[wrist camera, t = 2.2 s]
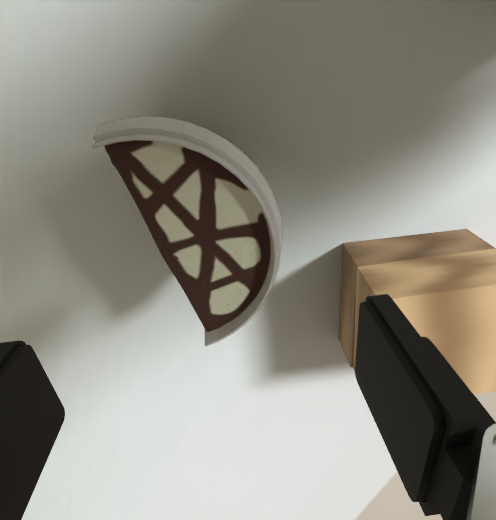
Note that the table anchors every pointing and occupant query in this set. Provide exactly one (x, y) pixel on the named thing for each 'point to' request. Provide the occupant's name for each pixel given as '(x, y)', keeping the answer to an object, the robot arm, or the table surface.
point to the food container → (201, 214)
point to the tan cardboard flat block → (392, 252)
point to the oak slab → (444, 307)
